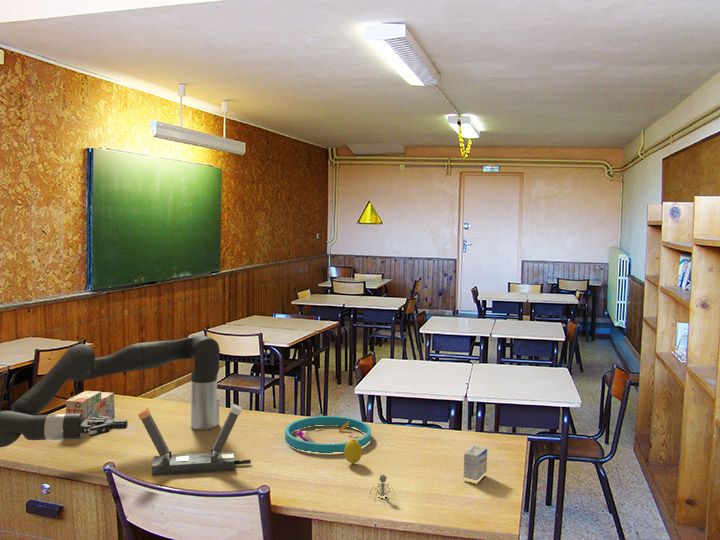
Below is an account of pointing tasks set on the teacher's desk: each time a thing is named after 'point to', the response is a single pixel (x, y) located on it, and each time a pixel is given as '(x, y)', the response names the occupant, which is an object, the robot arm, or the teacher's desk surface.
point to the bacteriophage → (382, 486)
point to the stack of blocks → (92, 404)
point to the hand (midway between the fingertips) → (127, 424)
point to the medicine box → (475, 463)
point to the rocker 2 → (226, 429)
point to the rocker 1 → (154, 432)
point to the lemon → (353, 451)
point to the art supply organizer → (324, 420)
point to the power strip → (195, 463)
